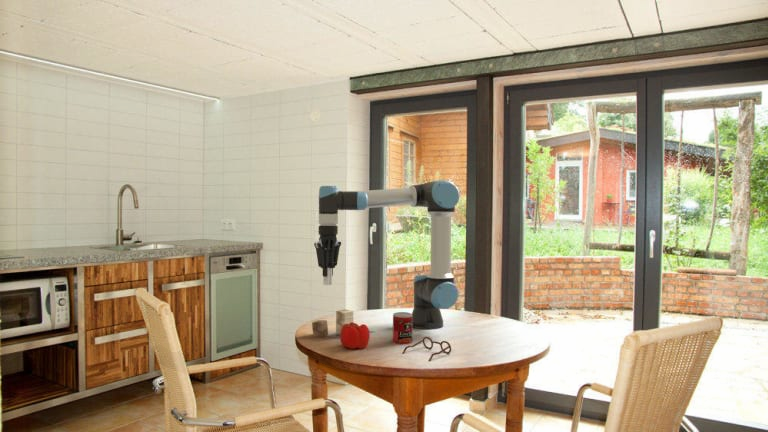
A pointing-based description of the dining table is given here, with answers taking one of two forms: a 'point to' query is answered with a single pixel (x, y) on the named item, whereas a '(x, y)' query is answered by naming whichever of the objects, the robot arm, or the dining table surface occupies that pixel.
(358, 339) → the tomato
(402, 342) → the canned food
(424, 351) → the dining table surface
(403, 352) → the glasses
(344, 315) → the birch block
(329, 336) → the rubber mat
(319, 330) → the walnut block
